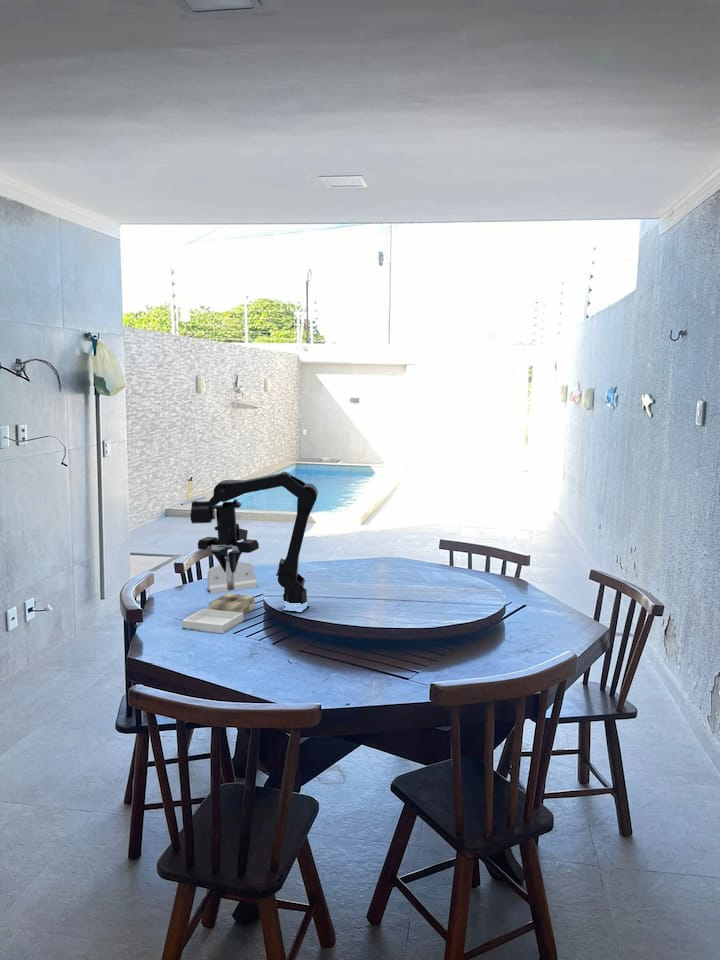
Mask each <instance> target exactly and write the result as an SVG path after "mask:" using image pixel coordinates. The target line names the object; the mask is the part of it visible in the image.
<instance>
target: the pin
mask: <svg viewBox="0 0 720 960" xmlns="http://www.w3.org/2000/svg"><path fill="white" fill-rule="evenodd" d="M223 557H224V559H225V567H226V582H227V590H234V589H235V583H234V573H233V572H232V570H231V565H230V560H229V554H228V553H227V554H225V555H223ZM234 591H235V590H234Z"/></svg>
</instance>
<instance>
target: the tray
mask: <svg viewBox="0 0 720 960" xmlns="http://www.w3.org/2000/svg"><path fill="white" fill-rule="evenodd" d="M243 622H244V615H243V613H238V612H229V611H220V610H211V609H209V608H203V609H200V610H199V611H196V612H194V613H193V614H191V615H189V616H188V617H185V618H184V619H182V620H181V625H182V627H183V628H189V629H188V630H190V629H195V630H194V631H198V630H200V632H208V633H214V634H223V635H224V634H225V633H226V632H228V631H229V630H232V629H233V628H235V627H237V626H238V625H240V624H241V623H243ZM182 627H181V628H182ZM183 628H182V629H183Z"/></svg>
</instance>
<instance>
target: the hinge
mask: <svg viewBox="0 0 720 960" xmlns="http://www.w3.org/2000/svg"><path fill="white" fill-rule="evenodd" d="M234 583H235V589H234V590H227V582H226V572H224V570H223V568H222V566H221V565H220V563H219V564H217V565H215V566H214V565H213V566H212V567H211V568H209V569H208V570H207V591H209V593H210V595H212V594H213V595H214V594H220V593H229V592H233V591H239V590H241V591H242V590H245V589H247V590H249V589H253V588H254V589H255V588H258V583H257V579H256V574H255V571H254V567H253V565H252V564H251V563H249V562H245V561H238V563H237V567H236V570H235V572H234Z"/></svg>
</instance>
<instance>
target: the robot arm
mask: <svg viewBox="0 0 720 960" xmlns="http://www.w3.org/2000/svg"><path fill="white" fill-rule="evenodd" d="M280 487H282V488H284V489H286V490H287V491H288V492H289V493H290V494H292V495H293V496H295V497H296V498H297V501H296V502H297V503H296V506H297V507H296V517H295V522H294V523H293V529H292V534H291V537H290V542H289V546H288V548H287V549H288V550H287V554H286V556H285V559H284V558H280V559H279V563H278V568H277V570H276V574H275V575H276V577H277V582H278V584H279V585H280V586H281V587H282V588H284V590H283V595H282V598H283V599H282V600H284V601H287V602H289V603H301V604H303V603H305V602H307V603H308V596H307V595H308V594H307V588H304V587H305V582H306V578H304V577H303V576H302V575H301V574H300V573H299V561H300V558H299V557H300V552H301V549H302V544H303V540H304V538H305V537H304V536H305V532H306V528H307V524H308V520H309V516H310V514H311V512H312V511H313V507H314V506H315V504H316V501H317V498H318V493H319V491H318V489H317V487H316V486H315V485H314V484H312V483H306V482H305V481H303V480H301V479H299V478H297V477H296V476H293V475H292V474H291V473H290V472H288V471H282V472H279V473H275V474H269V475H263V476H259V477H254V478H249V479H245V480H244V479H240V480H239V479H223V480H221V481H219V482H218V483H217V484H216V485H215V486H214V489H213V496H211V498H209V500H207V501H206V500H204V501H203V500H199V501H198V500H193V501H191V508H190V514H189V515H190V522H191V524H211V523H212V522H213V520H216V526H214V531H217V537H216V536H206V537H203V538H201V539H199V540H198V542H197V549H198V550H203V551H206V550H208V548H209V547H211V550H210V551H209V552H210V553H211V554H212V555H214V557H215V559H216V560H217V561H218V563H219V564H220V565H221V566H222V568H223V570H224V572H226V567H225V559H224V557H223V555H225V554H229V560H230V565H231V570H232V572H233V573H234V572H235V570H236V567H237V563H238V562H239V559H240V558H241V555H242V554H243V553H244V554H250V553H252V552H254V551H256V550H259V549H260V546H259V545H260V544H259V541H258V540H257V539H248V531H249V530H248V529H243V528H240V524H239V523H237V516H236V509H238V508H240V507H242V503H241V502H240V501H239V500H238V499H237V498H238V497H240V496H243V495H244V494H249V493H254V492H259V491H264V490H269V489H275V488H280ZM231 500H233V501H231ZM220 503H222V504H220ZM218 504H219V505H218ZM229 549H231V551H229ZM228 551H229V552H228Z"/></svg>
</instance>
